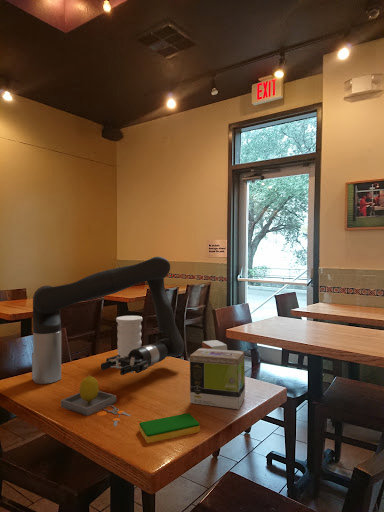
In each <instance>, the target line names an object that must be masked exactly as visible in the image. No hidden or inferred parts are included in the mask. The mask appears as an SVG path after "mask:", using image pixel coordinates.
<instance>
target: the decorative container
mask: <svg viewBox="0 0 384 512" xmlns="http://www.w3.org/2000/svg"><path fill="white" fill-rule="evenodd" d="M142 321H143V317H142V315H141V316H140V315H122V316H117V317H116V321H115V322H116V323H117V326H116V328H117V333H116V334H117V335H116V336H117V337H116V338H117V342H116V345H117V349H116V352H117V355H120V357H124V356H128V354H129V353H130V351H131V350H133V349H136V348H139V347H142V338H141V337H142V327H143V326H142ZM118 365H120V363H118Z"/></svg>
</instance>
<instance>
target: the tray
mask: <svg viewBox="0 0 384 512" xmlns="http://www.w3.org/2000/svg"><path fill="white" fill-rule="evenodd" d="M115 403H117V395H116V394H112V393H107V392H106V391H105V392H104V391H101V390H99V392H98V395H97V397H96V398H95V399H94V400H92V401H91V402H90V403H88V402H87V401H85V400H83V399H82V398H81V396H80V392H78V393H75V394H73V395H70V396H68V397H65V398H63V399H61V400H60V407H61V408H63V409H64V410H65V409H66V410H67V411H71V412H75V413H77V414H81V415H83V416H85V417H89V416H91V415H93V414H95V413H98V412H100V411H101V410H103V409H102V408H104V409H106V408H108V407H109V406H108V405H113V404H115ZM107 406H108V407H107Z"/></svg>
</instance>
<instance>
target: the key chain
mask: <svg viewBox="0 0 384 512" xmlns="http://www.w3.org/2000/svg"><path fill="white" fill-rule="evenodd" d="M108 407H112V408H113V409H112V410H108V409H106V408H108ZM106 408H102V409H101V410H104V411H98V412H96V415H97V416H99V417H101V416H102V417H103V416H106V415H107V414H108V413H112V414H113V415H118V417H116V418H113V419H112V422H113V424H112V425H113V427H117V426H118V422H121V418H120V417H121V415H124V416H127V417H131V416H132V414H129V413H127V412H126V411H125V410H120V409H119V408H118V407H115V406H114V405H113V404H111V405H108V406H107V407H106Z"/></svg>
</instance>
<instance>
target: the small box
mask: <svg viewBox="0 0 384 512" xmlns="http://www.w3.org/2000/svg"><path fill="white" fill-rule="evenodd" d="M201 348H206V349H220V350H228V345H227V344H226V343H224V342H222V341H220V340H217V339H215V340H212V339H211V340H204V341H203V340H202V342H201Z"/></svg>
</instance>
